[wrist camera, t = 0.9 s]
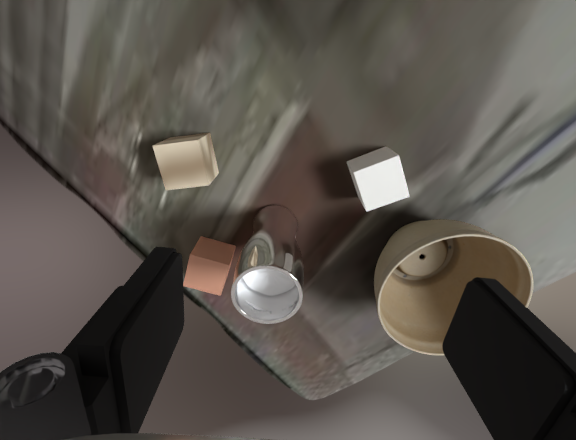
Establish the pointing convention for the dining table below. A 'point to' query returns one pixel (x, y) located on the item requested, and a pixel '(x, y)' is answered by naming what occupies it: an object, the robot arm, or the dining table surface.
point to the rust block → (209, 265)
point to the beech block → (186, 161)
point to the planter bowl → (440, 278)
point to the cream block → (378, 178)
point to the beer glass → (270, 269)
